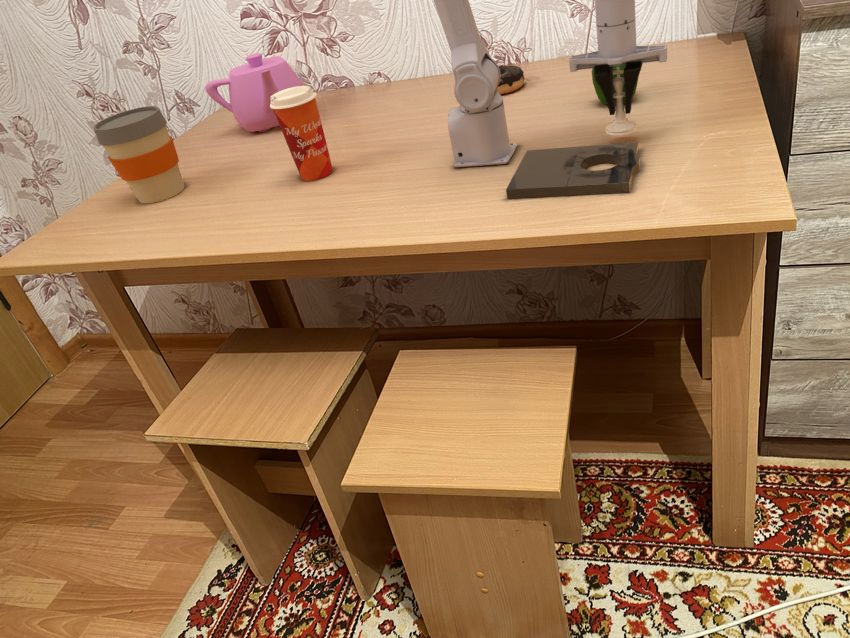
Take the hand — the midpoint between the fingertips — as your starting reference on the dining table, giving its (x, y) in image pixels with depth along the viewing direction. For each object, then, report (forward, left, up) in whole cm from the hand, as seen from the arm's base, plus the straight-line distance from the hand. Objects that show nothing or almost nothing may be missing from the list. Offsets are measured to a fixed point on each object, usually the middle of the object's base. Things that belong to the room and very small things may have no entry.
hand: (620, 112), depth 111 cm
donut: (-30, +36, -5) cm, 47 cm away
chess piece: (0, 0, -3) cm, 3 cm away
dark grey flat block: (-6, -12, -5) cm, 14 cm away
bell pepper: (-3, +21, -5) cm, 21 cm away
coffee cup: (-55, -4, -5) cm, 55 cm away
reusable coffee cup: (-88, -8, -5) cm, 88 cm away
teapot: (-82, +29, -5) cm, 87 cm away
